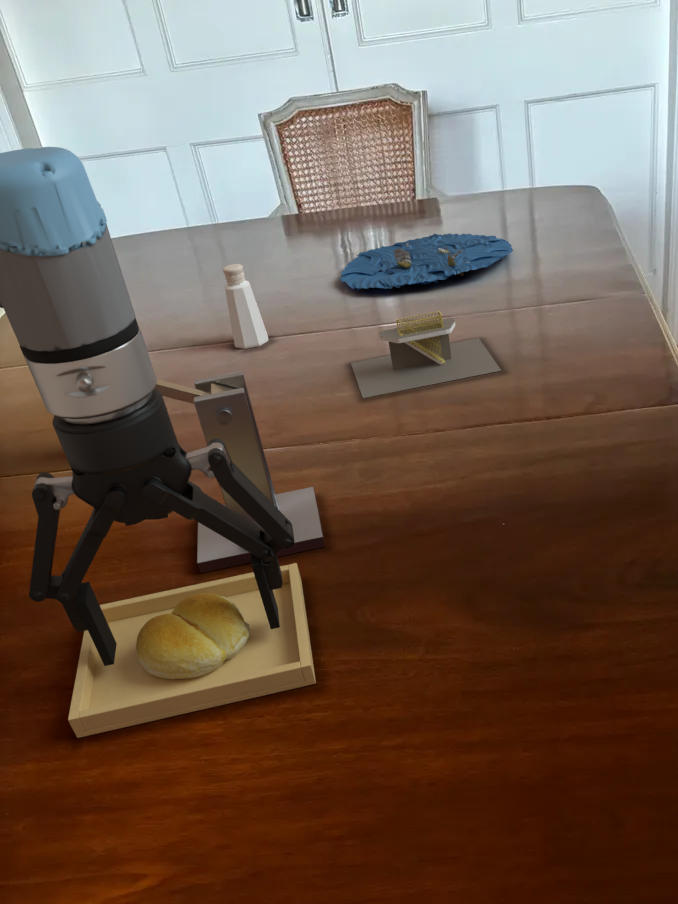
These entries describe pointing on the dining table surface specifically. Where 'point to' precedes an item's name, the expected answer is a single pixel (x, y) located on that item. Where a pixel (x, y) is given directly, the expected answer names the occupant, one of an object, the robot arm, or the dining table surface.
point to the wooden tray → (238, 678)
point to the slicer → (247, 474)
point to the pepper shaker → (243, 310)
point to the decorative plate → (423, 260)
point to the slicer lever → (185, 391)
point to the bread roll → (192, 637)
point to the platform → (422, 358)
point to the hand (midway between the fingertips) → (193, 637)
